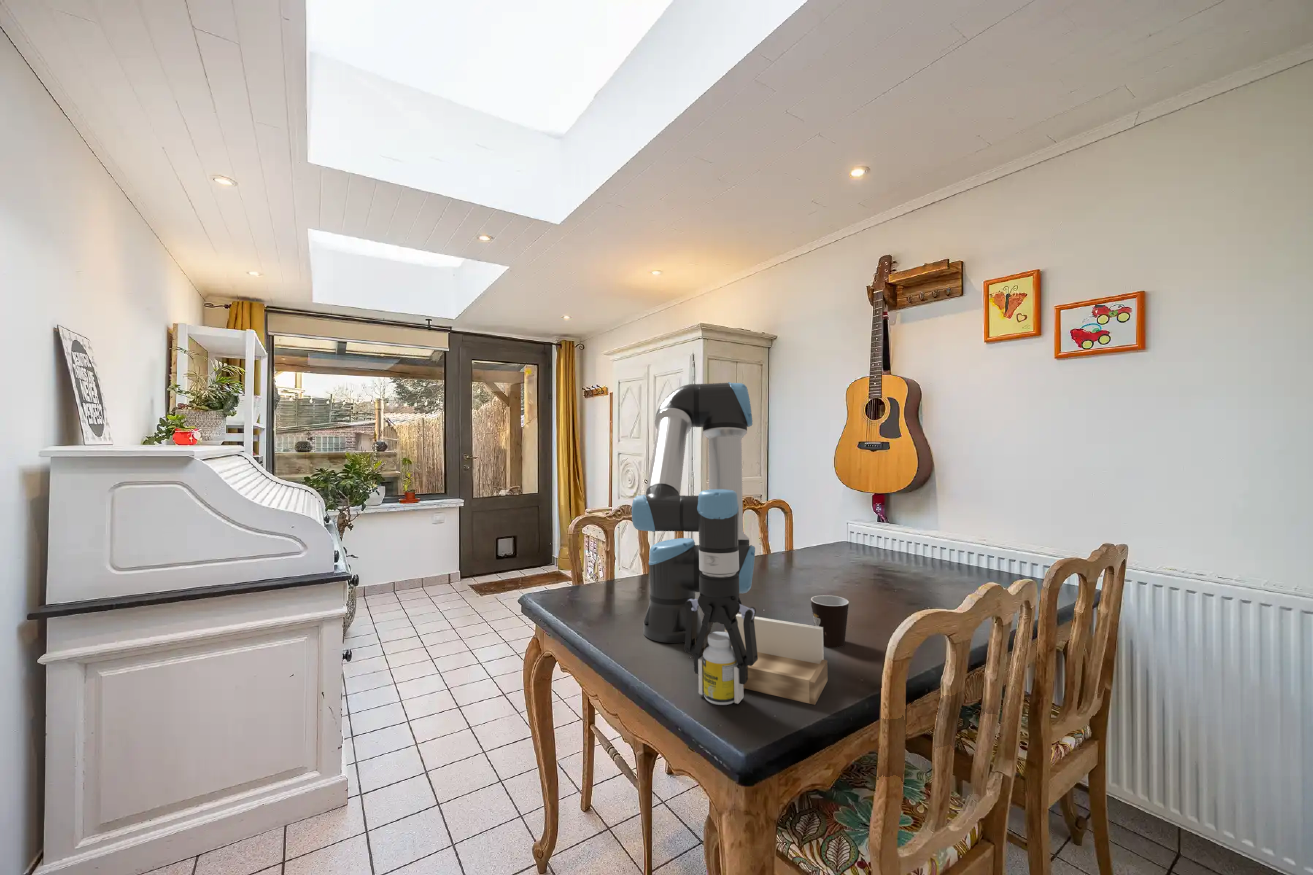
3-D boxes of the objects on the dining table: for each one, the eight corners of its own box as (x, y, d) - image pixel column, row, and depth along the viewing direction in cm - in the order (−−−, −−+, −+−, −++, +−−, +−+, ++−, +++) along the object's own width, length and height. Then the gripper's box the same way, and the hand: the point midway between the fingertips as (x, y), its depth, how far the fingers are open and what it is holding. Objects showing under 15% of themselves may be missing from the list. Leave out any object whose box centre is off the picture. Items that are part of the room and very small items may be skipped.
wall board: (725, 659, 114) (724, 613, 114) (727, 656, 115) (726, 611, 115) (822, 679, 103) (821, 629, 104) (824, 676, 105) (823, 627, 105)
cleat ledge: (704, 679, 104) (704, 658, 104) (725, 659, 114) (724, 640, 114) (815, 704, 93) (814, 681, 93) (827, 680, 103) (827, 659, 103)
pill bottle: (700, 690, 99) (700, 630, 99) (733, 688, 100) (732, 628, 100) (707, 707, 93) (706, 643, 93) (742, 705, 93) (741, 641, 94)
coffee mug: (852, 650, 118) (851, 606, 118) (813, 648, 119) (812, 604, 120) (844, 632, 129) (843, 592, 129) (808, 630, 131) (808, 591, 131)
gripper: (664, 570, 98) (665, 692, 98) (762, 583, 89) (765, 717, 88) (682, 562, 105) (683, 676, 104) (775, 573, 95) (777, 698, 95)
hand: (720, 695), depth 96 cm, fingers closed on pill bottle, 6 cm apart
